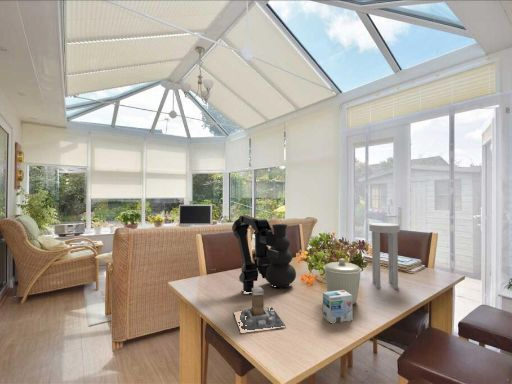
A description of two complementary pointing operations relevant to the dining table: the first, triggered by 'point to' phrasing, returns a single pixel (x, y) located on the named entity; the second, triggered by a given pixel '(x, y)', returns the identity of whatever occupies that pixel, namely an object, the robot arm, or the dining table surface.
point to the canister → (343, 277)
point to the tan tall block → (257, 301)
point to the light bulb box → (337, 306)
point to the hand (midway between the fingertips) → (262, 275)
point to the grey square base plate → (260, 319)
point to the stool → (392, 251)
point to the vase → (281, 260)
